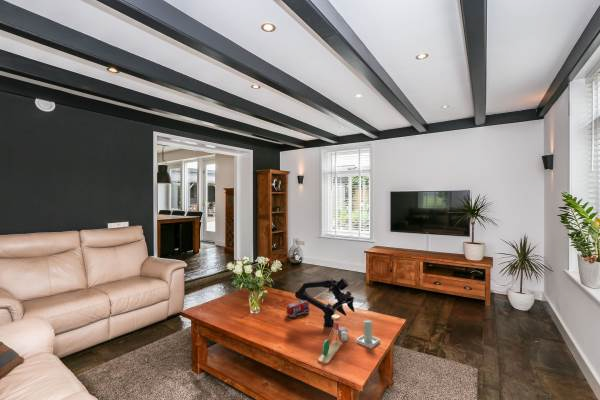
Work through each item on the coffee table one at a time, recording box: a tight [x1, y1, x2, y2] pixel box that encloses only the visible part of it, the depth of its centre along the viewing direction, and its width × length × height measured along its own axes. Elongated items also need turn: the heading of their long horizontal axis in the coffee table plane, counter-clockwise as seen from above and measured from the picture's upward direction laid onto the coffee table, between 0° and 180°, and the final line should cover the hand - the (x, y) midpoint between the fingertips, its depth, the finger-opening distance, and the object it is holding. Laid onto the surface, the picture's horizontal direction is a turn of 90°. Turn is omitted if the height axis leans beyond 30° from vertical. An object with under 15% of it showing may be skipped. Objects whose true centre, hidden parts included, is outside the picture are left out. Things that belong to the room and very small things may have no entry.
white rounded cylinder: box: [340, 331, 349, 342], centre depth 190 cm, size 4×4×4 cm
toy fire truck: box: [286, 300, 311, 319], centre depth 229 cm, size 9×19×10 cm, turn 122°
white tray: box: [355, 334, 381, 349], centre depth 186 cm, size 11×11×2 cm
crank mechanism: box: [317, 313, 343, 366], centre depth 174 cm, size 25×7×19 cm, turn 151°
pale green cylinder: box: [363, 319, 373, 343], centre depth 186 cm, size 5×5×13 cm
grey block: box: [337, 326, 348, 337], centre depth 196 cm, size 5×5×4 cm
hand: (350, 313), depth 198 cm, fingers open, 9 cm apart
